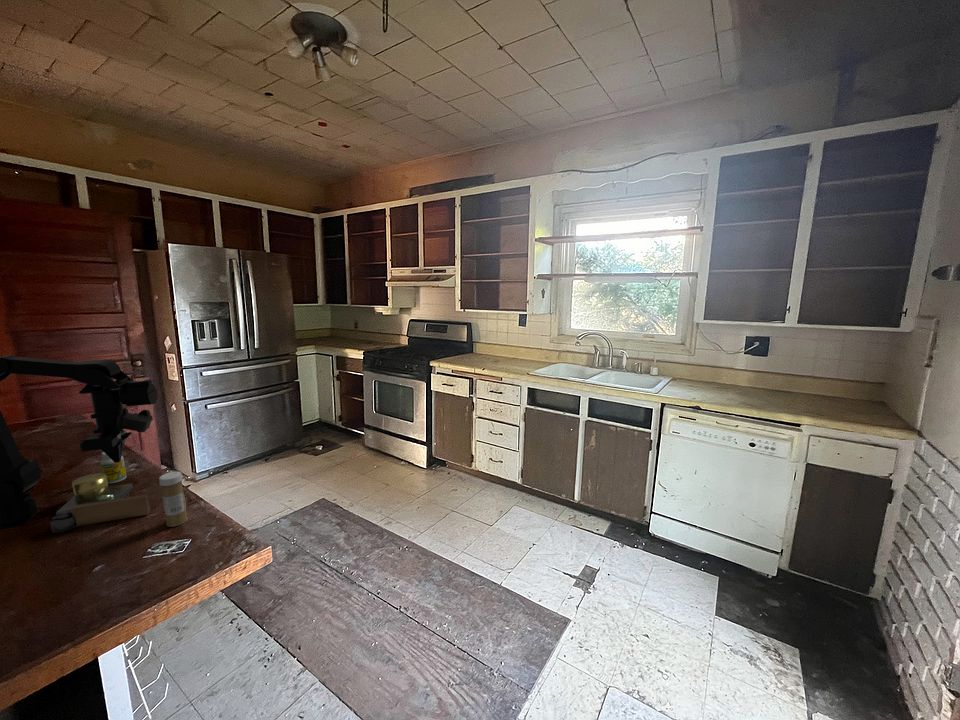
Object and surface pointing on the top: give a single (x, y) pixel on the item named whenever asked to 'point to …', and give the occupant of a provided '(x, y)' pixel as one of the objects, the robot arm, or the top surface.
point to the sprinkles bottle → (173, 498)
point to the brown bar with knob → (100, 512)
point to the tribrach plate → (113, 490)
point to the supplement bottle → (113, 469)
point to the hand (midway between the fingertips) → (117, 461)
